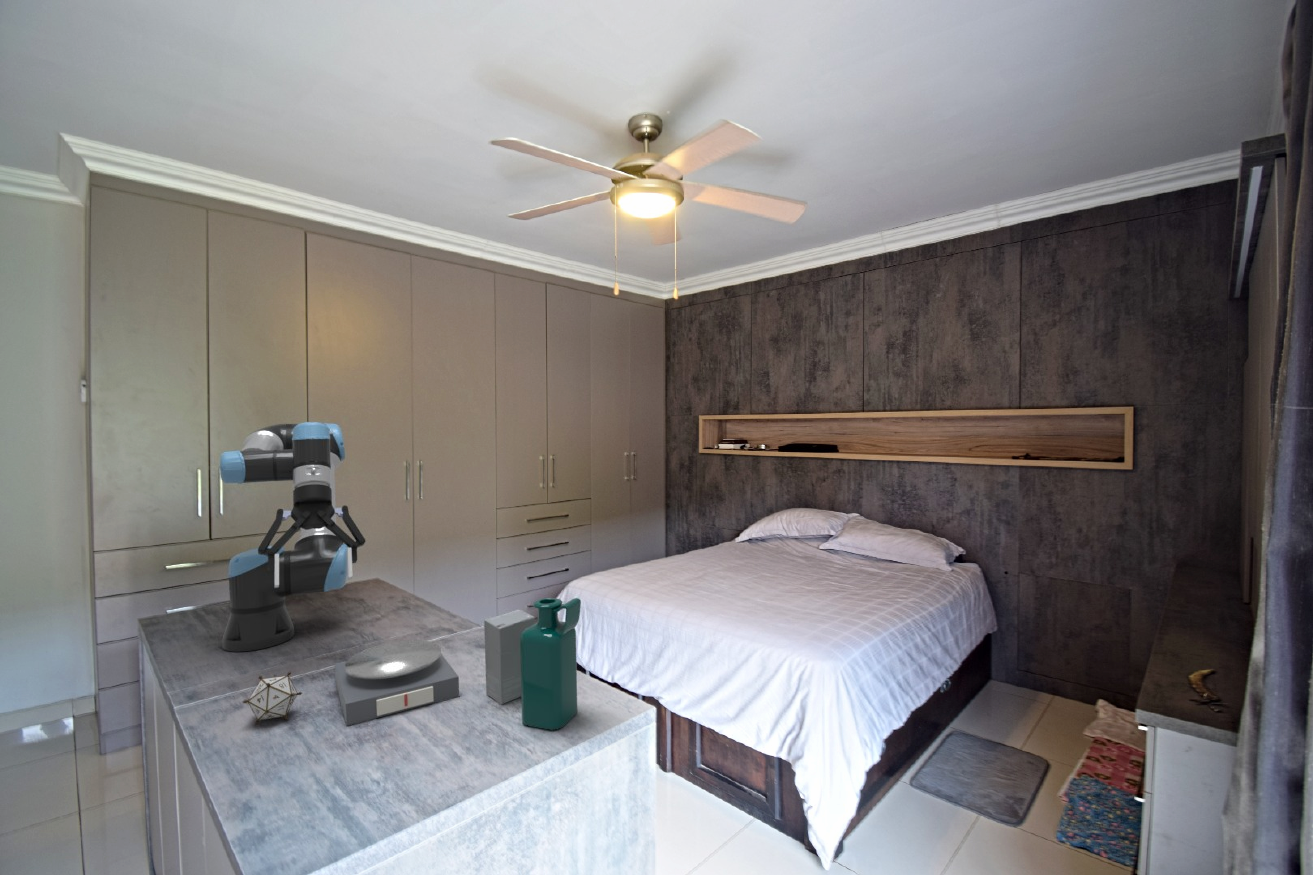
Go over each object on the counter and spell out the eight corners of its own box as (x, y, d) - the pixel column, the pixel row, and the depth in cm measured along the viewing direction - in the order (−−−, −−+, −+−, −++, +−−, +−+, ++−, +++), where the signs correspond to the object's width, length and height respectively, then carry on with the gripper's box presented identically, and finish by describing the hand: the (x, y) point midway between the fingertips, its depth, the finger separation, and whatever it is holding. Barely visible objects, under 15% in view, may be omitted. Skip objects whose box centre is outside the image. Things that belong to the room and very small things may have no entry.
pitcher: (517, 725, 106) (514, 603, 105) (542, 703, 114) (540, 591, 113) (565, 734, 103) (562, 609, 102) (587, 711, 110) (585, 595, 110)
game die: (276, 742, 108) (264, 715, 103) (239, 722, 110) (226, 694, 104) (315, 700, 116) (306, 672, 110) (280, 681, 117) (269, 653, 111)
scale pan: (341, 661, 124) (340, 652, 124) (430, 642, 134) (430, 634, 134) (350, 693, 109) (350, 683, 109) (450, 669, 119) (450, 660, 119)
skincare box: (520, 681, 124) (518, 607, 123) (539, 692, 119) (537, 614, 118) (483, 695, 118) (481, 616, 117) (501, 707, 113) (499, 625, 112)
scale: (335, 681, 125) (334, 663, 125) (433, 659, 136) (433, 642, 136) (347, 727, 106) (346, 706, 106) (460, 697, 117) (459, 678, 117)
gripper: (245, 484, 124) (243, 586, 117) (375, 480, 137) (380, 571, 130) (245, 496, 129) (243, 593, 122) (370, 491, 143) (375, 578, 136)
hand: (314, 582), depth 126 cm, fingers open, 13 cm apart
